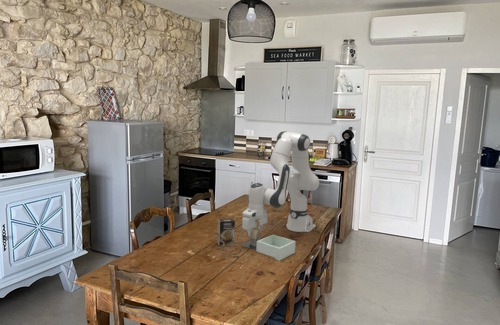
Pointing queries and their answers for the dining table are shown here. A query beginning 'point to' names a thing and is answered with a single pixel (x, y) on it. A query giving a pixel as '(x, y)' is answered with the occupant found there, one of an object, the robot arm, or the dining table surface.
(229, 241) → the coffee box
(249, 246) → the stud plate
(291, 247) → the bin
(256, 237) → the strut
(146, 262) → the dining table surface
